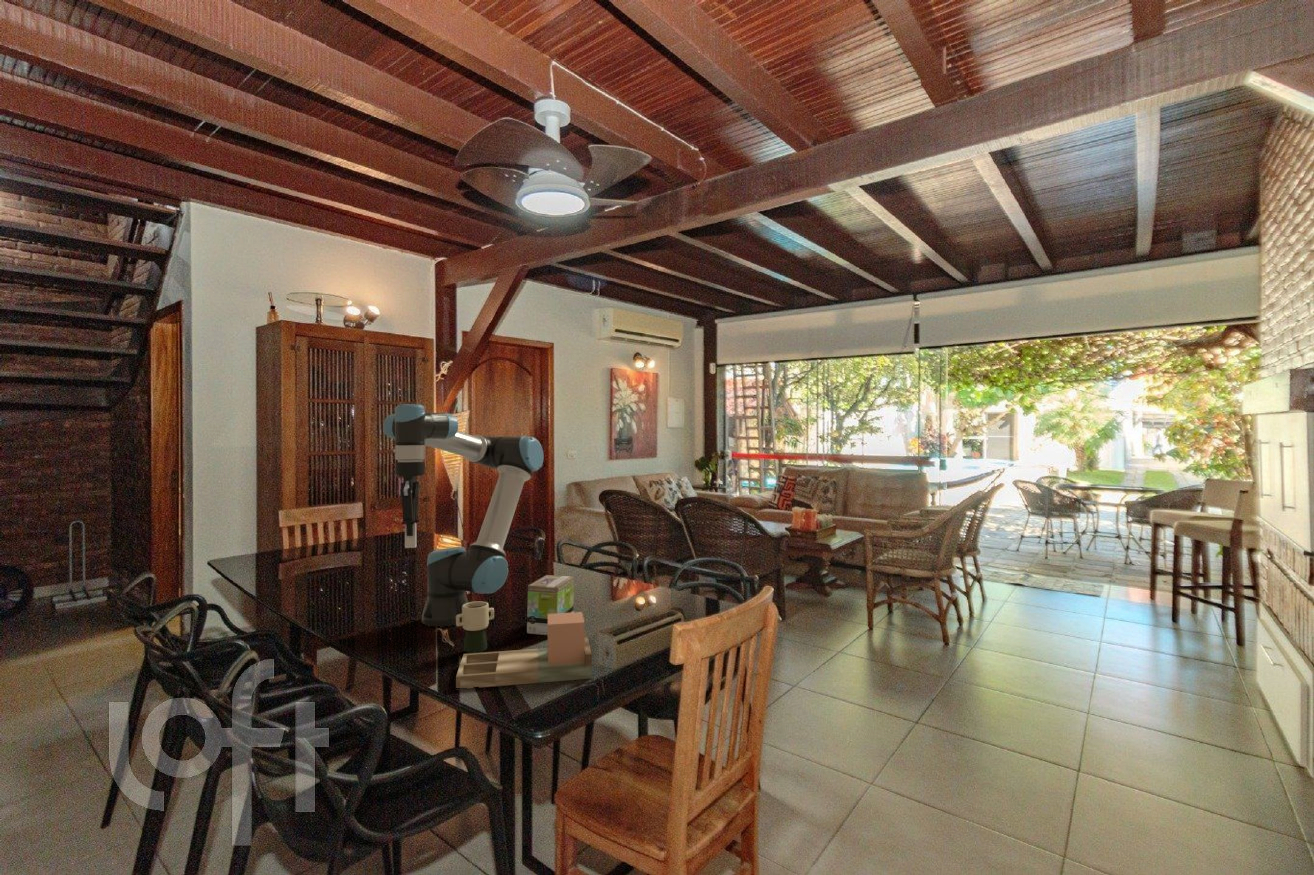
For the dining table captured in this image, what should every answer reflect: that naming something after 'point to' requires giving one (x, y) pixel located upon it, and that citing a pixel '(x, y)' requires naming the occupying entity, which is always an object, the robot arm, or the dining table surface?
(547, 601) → the tea box
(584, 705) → the dining table surface
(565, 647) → the terracotta block
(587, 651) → the trap deck
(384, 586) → the dining table surface
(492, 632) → the dining table surface
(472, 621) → the character mug
